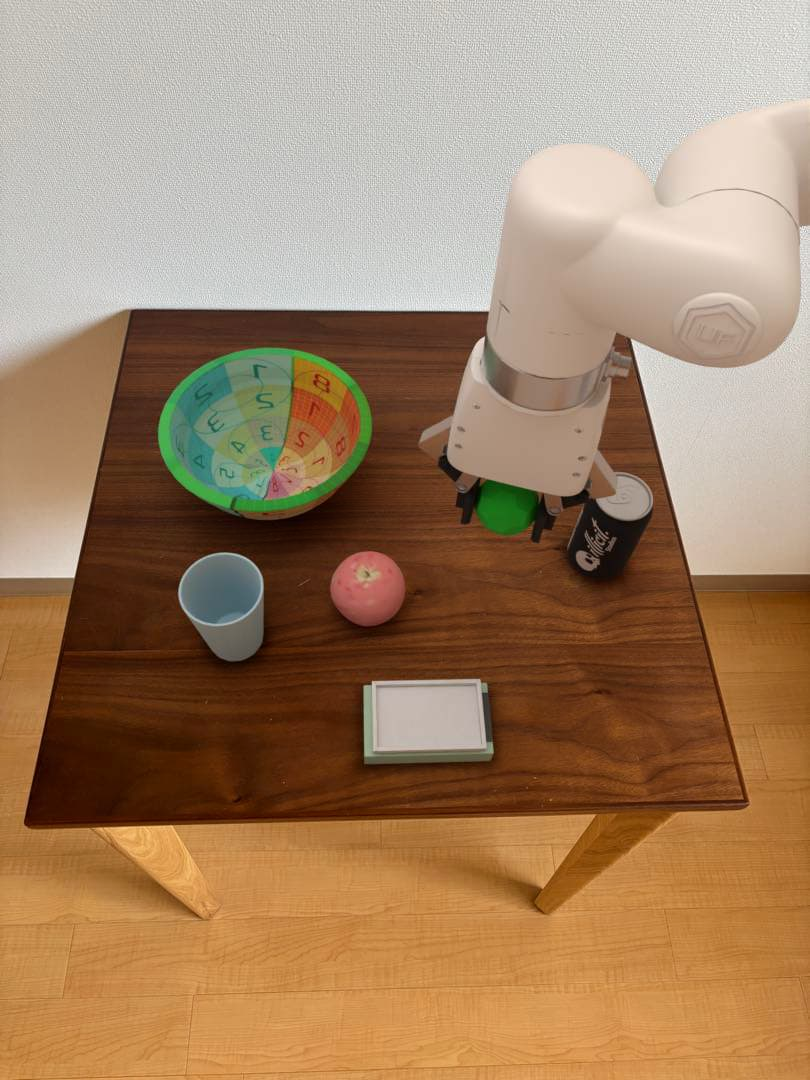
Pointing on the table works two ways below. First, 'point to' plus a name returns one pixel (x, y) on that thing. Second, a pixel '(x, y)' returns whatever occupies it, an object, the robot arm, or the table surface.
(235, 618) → the cup
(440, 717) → the scale
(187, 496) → the table surface
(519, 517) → the polyhedron
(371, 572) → the apple
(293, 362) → the bowl
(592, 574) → the beverage can
